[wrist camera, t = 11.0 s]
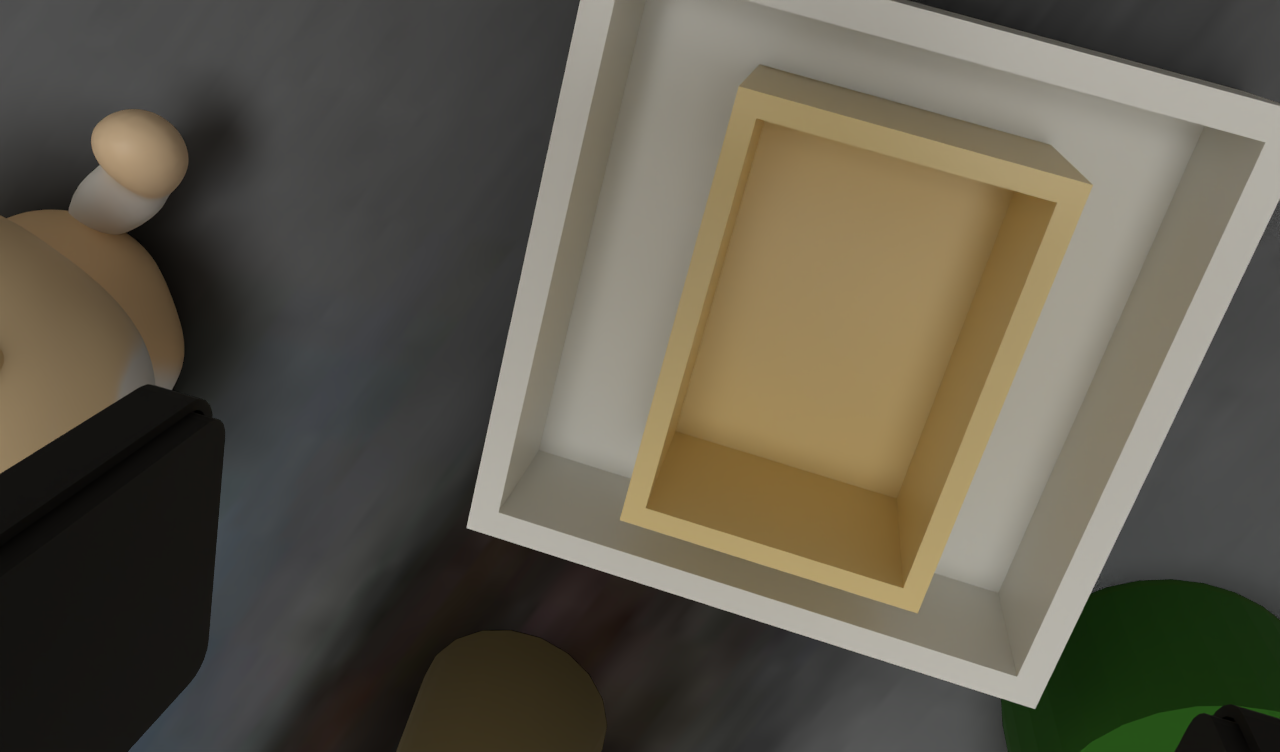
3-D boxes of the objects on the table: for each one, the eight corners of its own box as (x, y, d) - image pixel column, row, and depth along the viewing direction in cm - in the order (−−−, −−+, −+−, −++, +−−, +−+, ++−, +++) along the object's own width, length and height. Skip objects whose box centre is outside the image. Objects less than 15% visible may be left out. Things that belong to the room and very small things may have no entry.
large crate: (637, -73, 26) (597, -80, 22) (1243, 91, 25) (1318, 116, 21) (517, 454, 32) (466, 527, 28) (1011, 608, 31) (1035, 709, 27)
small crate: (759, 64, 26) (738, 85, 22) (1051, 144, 26) (1092, 185, 21) (655, 434, 30) (619, 520, 26) (908, 511, 30) (918, 613, 25)
